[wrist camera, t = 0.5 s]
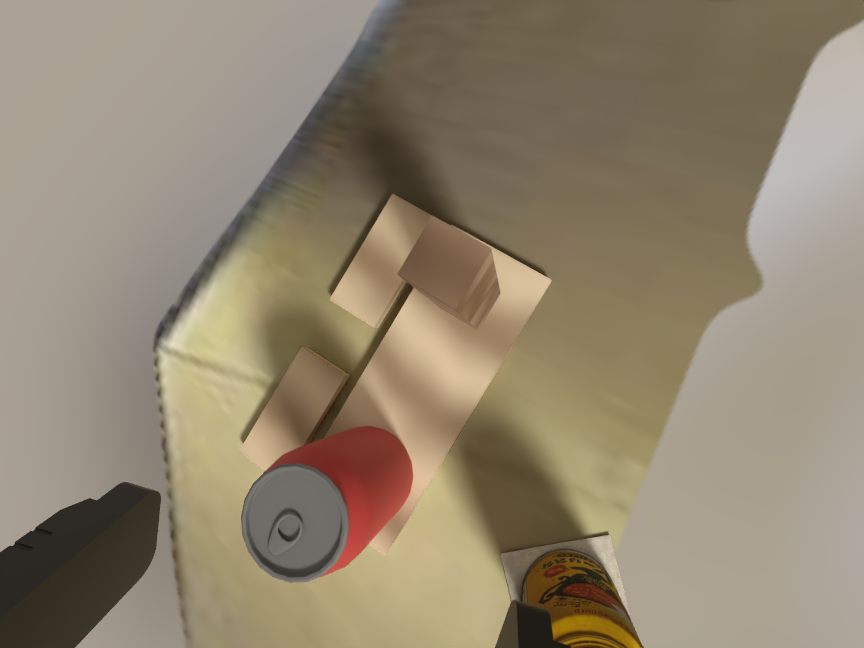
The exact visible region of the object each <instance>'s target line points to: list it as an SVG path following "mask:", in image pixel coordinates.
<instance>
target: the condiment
mask: <svg viewBox="0 0 864 648" xmlns="http://www.w3.org/2000/svg"><path fill="white" fill-rule="evenodd" d="M500 554H501V558H502V563H503V567H504V571H505V575H506V580H507V584H508V589H509V593H510V597H511V602H512V601H513V600H517V601H520V602H524V603H527V604H530V605H534V606H537V607H540V608H544V609H547V610H548V611H549V613H550V617H551V624H552V632H553V640H554V641H556V642H559V643H563V644H566V645H569V646H571V648H644V647H643V646H642V644H641V642H640V640H639V638H638V635H637V633H636V631H635V628H634V626H633V623H632V619H631V616H630V611H629V608H628V604H627V600H626V596H625V593H624V588H623V584H622V581H621V577H620V573H619V569H618V565H617V561H616V557H615V553H614V549H613V545H612V541H611V537H610V535H606V536H600V537H594V538H587V539H580V540H574V541H568V542H561V543H556V544H551V545H545V546H539V547H533V548H529V549H524V550H518V551H513V552H507V553H500Z"/></svg>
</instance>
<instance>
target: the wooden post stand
mask: <svg viewBox="0 0 864 648" xmlns="http://www.w3.org/2000/svg"><path fill="white" fill-rule="evenodd" d="M397 275H398V276H400V277H401V278H402V279H404V280H405V281H406V282H407V283H409V284H410V285H411V286H413V287H414V288H413V290H412V292H411V293H410V295H409V297H408V298H407V300H406V302H405V303H404V305H403V307H402V308H401V310H400V312H399V313H398V315H397V317H396V318H395V320H394V322H393V323H392V325H391V327H390V328H389V330H388V332H387V333H386V335H385V337H384V338H383V340H382V342H381V343H380V345H379V347H378V348H377V350H376V352H375V353H374V355H373V357H372V358H371V360H370V362H369V363H368V365H367V367H366V368H365V370H364V372H363V373H362V375H361V377H360V378H359V380H358V382H357V383H356V385H355V387H354V388H353V390H352V392H351V393H350V395H349V397H348V398H347V400H346V402H345V403H344V405H343V407H342V408H341V410H340V412H339V413H338V415H337V417H336V418H335V420H334V422H333V423H332V425H331V427H330V428H329V430H328V432H327V433H326V435H325V437H324V438H326V437H329V436H332V435H335V434H338V433H341V432H343V431H346V430H349V429H352V428H355V427H363V426H373V427H377V428H381V429H384V430H386V431H388V432H389V433H391V434H392V435H394V436H396V437H397V438H398V440H399V441H400V442H401V443H402V444H403V445H404V447H405V448H406V450H407V452H408V454H409V457H410V459H411V461H412V469H413V482H412V487H411V492H410V494H409V496H408V498H407V500H406V501H405V503H404V505H403V506H402V507H401V509H400V510H399V511H398V512H397V513H396V514H395V515H394V516H393V517H392V518H391V520H390V521H389V522H388V523H387V524H386V525H385V526H384V527H383V528H382V530H381V531H380V532H379V533H378V534H377V535H376V536H375V537H374V538H373V539H372V541H371V542H370V543H369V545H370V546H372V547H373V548H374V549H376V550H377V551H378V552H380V553H381V554H383V555H384V556H386V554H387V553H388V551H389V550H390V548H391V547H392V545H393V543H394V542H395V540H396V538H397V537H398V535H399V533H400V532H401V530H402V528H403V527H404V525H405V523H406V522H407V520H408V518H409V517H410V515H411V513H412V512H413V510H414V508H415V507H416V505H417V503H418V502H419V500H420V498H421V497H422V495H423V493H424V492H425V490H426V488H427V487H428V485H429V484H430V482H431V480H432V479H433V477H434V475H435V474H436V472H437V470H438V469H439V467H440V465H441V464H442V462H443V460H444V459H445V457H446V455H447V454H448V452H449V450H450V449H451V447H452V445H453V444H454V442H455V440H456V439H457V437H458V435H459V434H460V432H461V430H462V429H463V427H464V425H465V424H466V422H467V421H468V419H469V417H470V416H471V414H472V412H473V411H474V409H475V407H476V406H477V404H478V402H479V401H480V399H481V397H482V396H483V394H484V392H485V391H486V389H487V387H488V386H489V384H490V382H491V381H492V379H493V377H494V376H495V374H496V372H497V371H498V369H499V367H500V366H501V364H502V362H503V361H504V359H505V358H506V356H507V354H508V353H509V351H510V349H511V348H512V346H513V344H514V343H515V341H516V339H517V338H518V336H519V334H520V333H521V331H522V329H523V328H524V326H525V324H526V323H527V321H528V319H529V318H530V316H531V314H532V313H533V311H534V309H535V308H536V306H537V304H538V303H539V301H540V299H541V298H542V296H543V295H544V293H545V291H546V290H547V288H548V286H549V285H550V283H551V281H552V280H551V279H549V278H547V277H546V276H544V275H542V274H540V273H538V272H537V271H535V270H533V269H531V268H529V267H528V266H526V265H524V264H522V263H520V262H519V261H517V260H515V259H513V258H511V257H509V256H508V255H506V254H504V253H502V252H500V251H499V250H497V249H495V248H493V247H491V246H490V245H488V244H486V243H484V242H482V241H481V240H479V239H477V238H475V237H473V236H472V235H470V234H468V233H466V232H464V231H462V230H461V229H459V228H457V227H455V226H453V225H451V226H450V225H448V224H447V223H445V222H443V221H441V220H439V219H438V218H436V217H434V216H432V217H431V218H430V220H429V222H428V223H427V225H426V227H425V228H424V230H423V232H422V233H421V235H420V237H419V238H418V240H417V242H416V243H415V245H414V247H413V248H412V250H411V252H410V253H409V255H408V257H407V258H406V260H405V262H404V263H403V265H402V267H401V268H400V270H399V272H398V273H397ZM324 438H323V439H324Z"/></svg>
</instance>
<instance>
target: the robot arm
mask: <svg viewBox="0 0 864 648" xmlns="http://www.w3.org/2000/svg"><path fill="white" fill-rule="evenodd" d="M160 503H161V496H160V493H159V492H158V491H155V490H151V489H148V488H145V487H141V486H138V485H135V484H132V483H128V482H123V483H120V484H119V485H117V486H116V487H114V488H113V489H112V490H110V491H109V492H108V493H106V494H105V495H104V496H102V497H101V498H100V499H98V500H93V499H90V498H89V499H87V500H84V501H82V502H79V503H77V504H74V505H72V506H69V507H67V508H64V509H62V510H60V511H58V512H57V513H55V514H54V515H53V516H51V517H50V518H48V519H47V520H46V521H44V522H43V523H41V524H40V525H38V526H37V527H36V529H35V530H34V531H30V532H29V533H27V534H26V535H24V536H23V537H21V538H20V539H19V540H17V541H16V542H15V544H14V545H13V546H9V547H7V548H6V549H4V550H3V551H2V552H0V648H75V647H76V646H77V645H78V644H79V643H80V642H81V641H82V640H83V639H84V638H85V636H86V635H87V634H88V633H89V632H90V631H91V630H92V629H93V628H94V627H95V626H96V625H97V624H98V623H99V622H100V621H101V620H102V618H103V617H104V616H105V615H106V614H107V613H108V612H109V611H110V610H111V609H112V608H113V607H114V606H115V605H116V604H117V603H118V601H119V600H120V599H121V598H122V597H123V596H124V595H125V594H126V593H127V592H128V591H129V590H130V589H131V588H132V587H133V586H134V585H135V584H136V583H137V581H138V580H139V579H140V578H141V577H142V576H143V574H144V573H145V572H146V570H147V568H148V567H149V565H150V563H151V561H152V559H153V556H154V553H155V550H156V542H157V532H158V523H159V512H160ZM495 648H571V646H569V645H566V644H563V643H559V642H556V641H554V640H553V632H552V624H551V617H550V613H549V611H548V610H547V609H544V608H540V607H537V606H534V605H530V604H527V603H524V602H520V601H517V600H513V601H512V602H511V604H510V607H509V609H508V612H507V615H506V618H505V621H504V624H503V626H502V629H501V632H500V635H499V638H498V641H497V644H496V647H495Z"/></svg>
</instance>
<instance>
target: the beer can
mask: <svg viewBox="0 0 864 648" xmlns="http://www.w3.org/2000/svg"><path fill="white" fill-rule="evenodd" d="M412 482H413V469H412V461H411V459H410V457H409V454H408V452H407V450H406V448H405V447H404V445H403V444H402V443H401V442H400V441H399V440H398V438H397V437H396V436H394V435H392V434H391V433H389V432H388V431H386V430H384V429H381V428H377V427H373V426H363V427H355V428H352V429H349V430H346V431H343V432H341V433H338V434H335V435H332V436H329V437H326V438H324V439H321V440H318V441H315V442H312V443H309V444H306V445H304V446H301V447H298V448H296V449H294V450H292V451H290V452H287V453H285V454H283V455H282V456H281V457H279V458H278V459H277V460H276V461H275V462H274V463H273V464H272V465H271V466H270V467H269V468H268V469H267V470H266V471H265V472H264V473H263V475H262V476H260V477H259V478H258V479H257V480H256V481H255V482H254V483H253V485H252V487H251V489H250V490H249V492H248V494H247V496H246V498H245V501H244V506H243V510H242V515H241V521H242V535H243V538H244V540H245V543H246V546H247V549H248V552H249V553H250V555H251V556H252V557H253V559H254V560H255V562H256V563H257V564H258V566H259V567H260V568H262V569H263V570H264V571H266V572H267V573H268V574H270V575H271V576H272V577H274V578H277V579H280V580H283V581H286V582H290V583H293V582H308V581H311V580H313V579H315V578H318V577H322V576H324V575H327V574H329V573H332V572H334V571H336V570H339V569H341V568H343V567H346V566H347V565H348V564H349V563H350V562H351V561H352V560H353V559H354V558H355V557H356V556H358V555H359V554H360V553H361V552H362V550H363V549H364V548H365V547H366V546H367V545H368V544H369V543H370V542H371V541H372V539H373V538H374V537H375V536H376V535H377V534H378V533H379V532H380V531H381V530H382V528H383V527H384V526H385V525H386V524H387V523H388V522H389V521H390V520H391V518H392V517H393V516H394V515H395V514H396V513H397V512H398V511H399V510H400V509H401V507H402V506H403V505H404V503H405V501H406V500H407V498H408V496H409V494H410V492H411V487H412Z"/></svg>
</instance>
